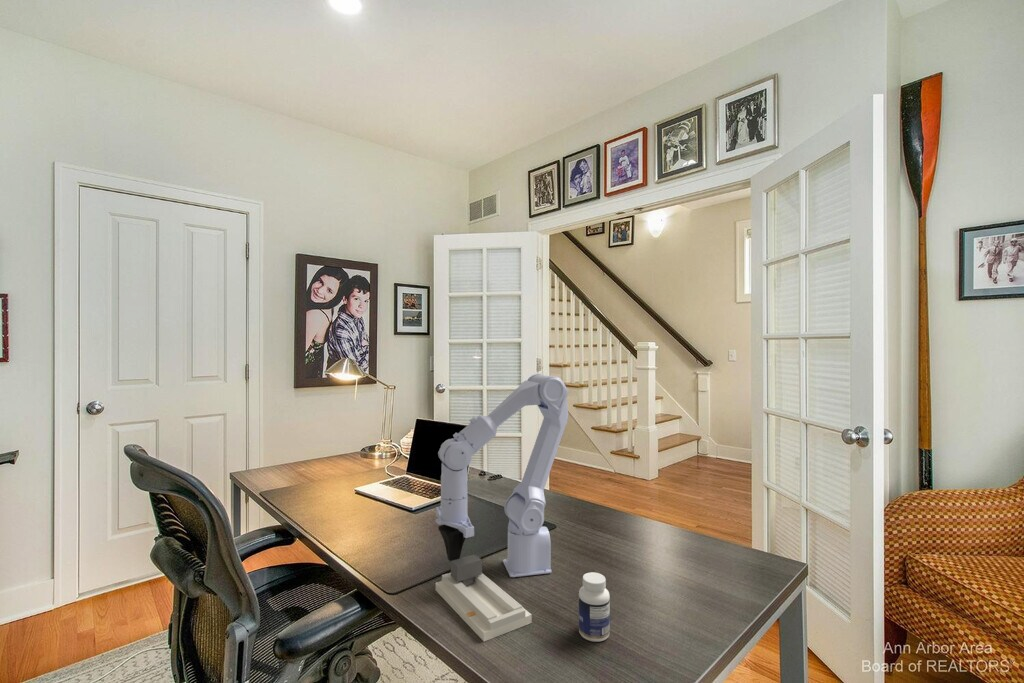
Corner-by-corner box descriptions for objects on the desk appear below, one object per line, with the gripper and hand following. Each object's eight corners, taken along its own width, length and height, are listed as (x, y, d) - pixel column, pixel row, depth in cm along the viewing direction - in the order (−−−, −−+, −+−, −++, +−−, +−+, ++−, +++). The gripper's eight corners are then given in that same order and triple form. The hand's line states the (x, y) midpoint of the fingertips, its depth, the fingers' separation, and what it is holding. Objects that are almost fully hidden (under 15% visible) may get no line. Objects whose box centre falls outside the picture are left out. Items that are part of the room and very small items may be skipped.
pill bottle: (575, 624, 85) (575, 570, 85) (604, 623, 85) (604, 569, 85) (582, 643, 79) (582, 585, 79) (613, 642, 80) (613, 584, 80)
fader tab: (450, 583, 95) (450, 560, 96) (474, 576, 99) (474, 554, 99) (457, 590, 93) (457, 566, 93) (481, 582, 96) (481, 559, 96)
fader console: (435, 590, 96) (435, 575, 96) (478, 577, 102) (478, 563, 102) (483, 641, 80) (483, 623, 80) (531, 622, 85) (531, 606, 85)
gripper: (423, 490, 105) (423, 551, 104) (452, 509, 92) (451, 578, 92) (452, 485, 108) (451, 544, 108) (483, 503, 96) (482, 569, 96)
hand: (453, 559), depth 101 cm, fingers closed
